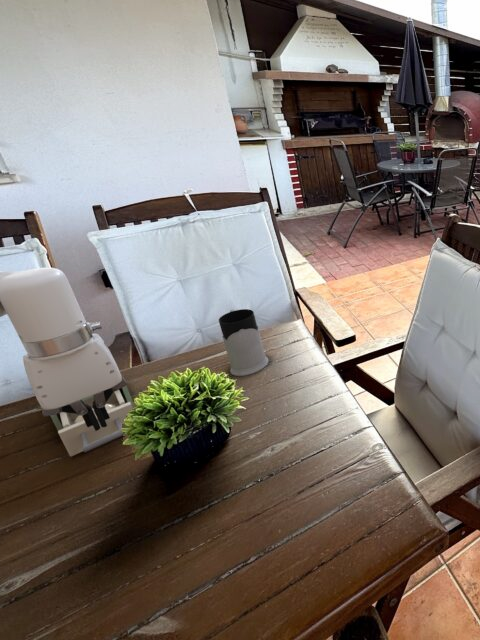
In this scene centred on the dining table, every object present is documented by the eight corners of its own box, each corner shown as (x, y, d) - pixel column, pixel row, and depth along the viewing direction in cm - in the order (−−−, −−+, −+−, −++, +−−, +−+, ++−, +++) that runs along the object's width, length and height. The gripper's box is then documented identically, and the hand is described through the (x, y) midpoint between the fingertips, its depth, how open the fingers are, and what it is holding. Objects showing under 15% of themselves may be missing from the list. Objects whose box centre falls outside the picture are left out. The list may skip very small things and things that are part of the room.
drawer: (146, 439, 82) (137, 417, 79) (74, 473, 74) (62, 449, 72) (127, 400, 92) (119, 380, 90) (63, 426, 85) (52, 404, 83)
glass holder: (233, 380, 101) (218, 328, 96) (224, 356, 111) (209, 308, 105) (272, 366, 106) (259, 316, 101) (259, 344, 116) (248, 298, 111)
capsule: (80, 441, 80) (73, 427, 78) (75, 426, 83) (68, 412, 80) (124, 422, 85) (118, 409, 83) (118, 408, 87) (113, 395, 85)
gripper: (115, 316, 75) (147, 395, 81) (-11, 352, 64) (38, 440, 71) (122, 328, 70) (156, 411, 77) (-11, 370, 60) (42, 462, 66)
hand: (100, 425), depth 74 cm, fingers closed
